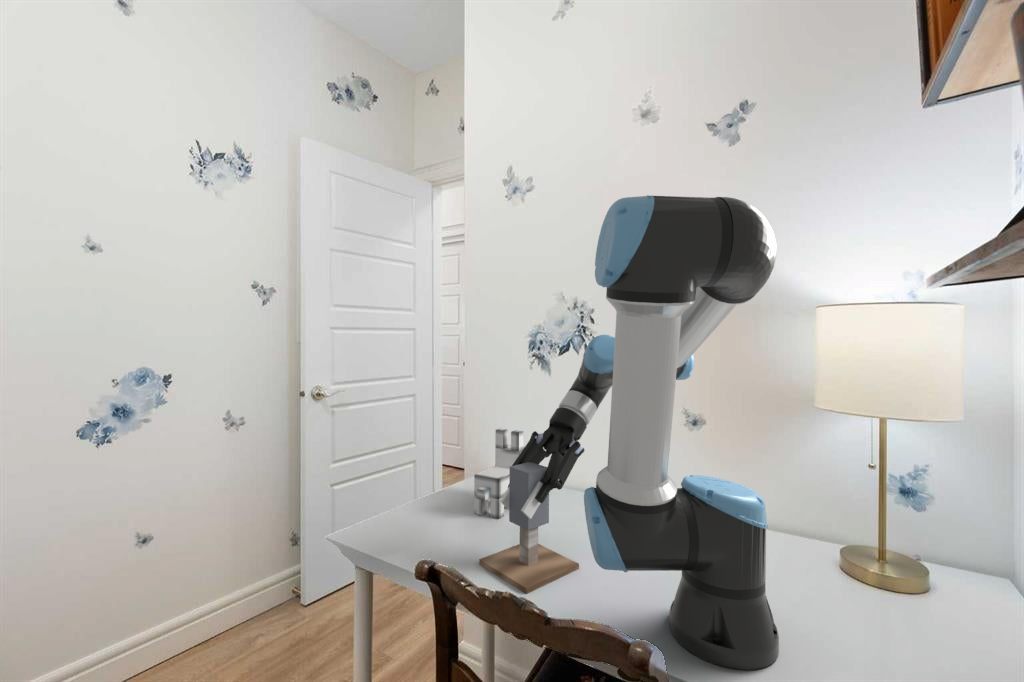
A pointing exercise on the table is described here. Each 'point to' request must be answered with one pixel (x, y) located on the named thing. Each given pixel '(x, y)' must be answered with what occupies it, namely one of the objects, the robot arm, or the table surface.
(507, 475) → the toy llama
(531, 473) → the gray upright pillar
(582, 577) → the table surface
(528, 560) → the post
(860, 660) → the table surface
